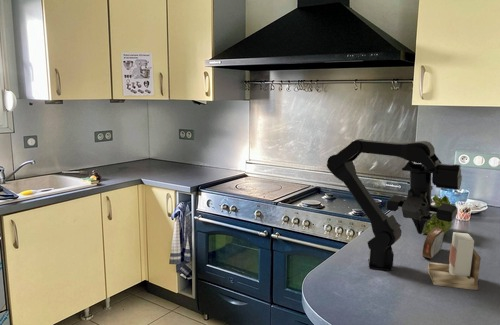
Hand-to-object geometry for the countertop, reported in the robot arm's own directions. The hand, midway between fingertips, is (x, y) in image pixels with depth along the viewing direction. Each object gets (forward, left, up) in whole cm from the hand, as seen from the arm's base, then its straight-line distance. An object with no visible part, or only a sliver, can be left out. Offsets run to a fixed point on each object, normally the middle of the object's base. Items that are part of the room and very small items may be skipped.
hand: (420, 233), depth 123 cm
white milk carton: (+10, -4, -10) cm, 15 cm away
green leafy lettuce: (+10, +39, -12) cm, 42 cm away
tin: (+7, +15, -12) cm, 21 cm away
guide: (+9, -4, -12) cm, 15 cm away
